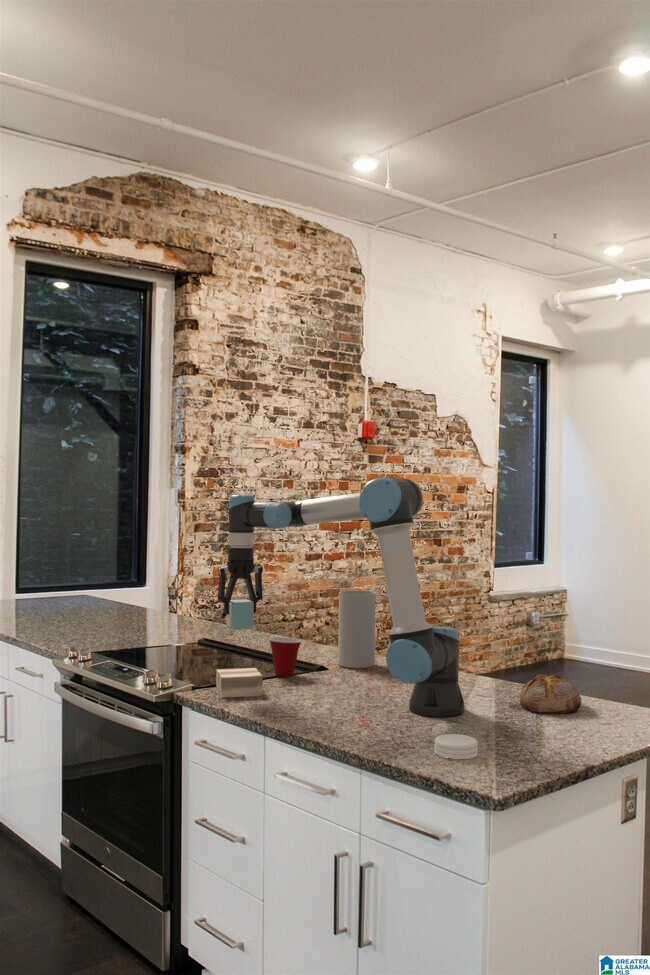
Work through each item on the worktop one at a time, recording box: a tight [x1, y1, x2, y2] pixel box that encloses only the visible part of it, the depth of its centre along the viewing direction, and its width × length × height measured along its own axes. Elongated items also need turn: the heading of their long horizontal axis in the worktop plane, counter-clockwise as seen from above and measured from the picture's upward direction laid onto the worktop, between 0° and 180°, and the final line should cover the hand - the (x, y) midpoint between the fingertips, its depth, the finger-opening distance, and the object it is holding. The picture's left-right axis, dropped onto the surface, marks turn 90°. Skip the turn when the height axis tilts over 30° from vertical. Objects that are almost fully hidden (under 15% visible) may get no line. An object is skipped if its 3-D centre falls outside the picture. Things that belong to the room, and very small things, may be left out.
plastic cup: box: [268, 636, 303, 678], centre depth 284 cm, size 11×11×12 cm
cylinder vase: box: [337, 590, 376, 669], centre depth 302 cm, size 12×12×25 cm
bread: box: [519, 673, 582, 714], centre depth 247 cm, size 16×20×10 cm
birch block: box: [215, 667, 264, 698], centre depth 260 cm, size 12×12×6 cm
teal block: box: [226, 598, 254, 631], centre depth 260 cm, size 6×6×8 cm
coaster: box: [433, 733, 479, 760], centre depth 202 cm, size 10×10×4 cm
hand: (239, 624), depth 260 cm, fingers closed on teal block, 6 cm apart
